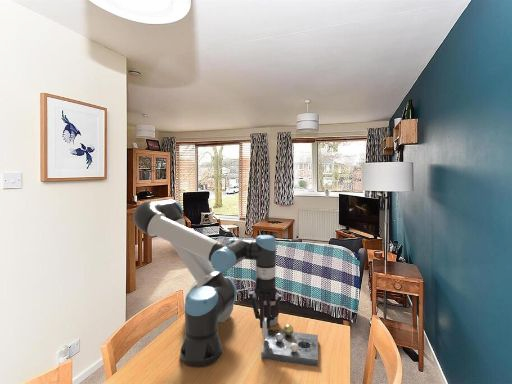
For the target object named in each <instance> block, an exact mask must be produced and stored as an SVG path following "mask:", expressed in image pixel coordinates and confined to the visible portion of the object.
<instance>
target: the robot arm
mask: <svg viewBox="0 0 512 384" xmlns="http://www.w3.org/2000/svg"><path fill="white" fill-rule="evenodd" d="M183 213H184V210H183V207H182V205H181V204H180V203H179V202H178V201H176V200H175V199H170V198H162V199H160V200H152V201H151V200H150V201H144V202H141V203H140V204H139V205H137V206H136V208H135V209H134V212H133V216H132V217H133V218H132V219H133V223H134V225H135V226H136V228H137V229H138V230H139V231H140V232H142V233H144V234H146V235H148V236H150V237H155V236H156V237H158V238H161V239H163V240H165V241H167V242H169V243H170V244H171V246H172V247H173V249H174V250H175V252H176V253H177V255H178V256H179V258H180V259H181V261H182V262H183V264H184V265H185V267H186V268H187V270H188V271H189V273H190V275H192V277H193V279H194V281H196V282H197V284H198V285H197V288H194V289H192V290H191V291H190V290H189V291H190V292H188V293H187V294H186V296H185V302H184V325H185V326H184V331H185V332H184V333H185V334H184V337H183V341H182V344H181V347H180V349H179V350H180V352H179V353H180V354H179V355H180V360H181V361H182V363H183V364H184V365H186V366H189V367H195V368H200V367H207V366H211V365H212V364H215V363H216V362H218V361H219V359H221V357H222V355H223V345H222V341H221V338H220V336H219V332H218V322H217V319H218V317H219V316H220V315H221V314H222V313H223V312H224V311H225V310H226V309H227V308H229V307H230V306H231V305H232V303H233V302H234V303H235V300H236V298H237V294H238V290H237V289H238V288H237V286H236V283H235V282H234V281H233V279H231V277H227V276H224V275H223V274H222V273H223V272H226V271H229V270H231V269H232V268H233V267H235V266H236V265H237V264H239V263H241V261H243V260H249V261H255V288H254V290H253V291H250V292H249V293H248V297H249V299H250V301H251V304H252V310H253V314H254V316H255V319H258V320H259V328H260V329H262V338H263V339H265V338H267V335H268V329H271V326H270V321H271V320H274V319H275V315H276V311H277V308H278V304H279V302H280V303H281V300H282V297H283V295H282V293H281V294H278V293H277V290H278V289H277V288H276V272H277V271H276V267H277V266H276V259H277V256H276V255H277V247H276V245H277V243H276V242H277V241H276V238H275V236H273V235H271V234H270V235H269V234H261V235H260V234H259V235H258V236H256V237H255V239H244V238H239V237H238V238H237V237H236V238H233V237H232V238H229V239H227V241H226V243H224V242H223V243H222V242H220V241H218V240H216V239H214V238H211V237H209V236H208V235H205V234H203V233H200V232H199V231H196V230H194V229H192V228H190V227H187V226H185V218H184V214H183ZM276 289H277V290H276ZM256 296H257V298H258V299H259V306H258V301H257V298H256ZM274 296H276V298H275V299H276V302H275V306H274V310H273V314H272V315H271V300H272V299H273V297H274ZM264 301H266V304H267V318H264Z"/></svg>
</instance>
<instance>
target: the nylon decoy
mask: <svg viewBox="0 0 512 384" xmlns="http://www.w3.org/2000/svg"><path fill="white" fill-rule="evenodd" d="M290 350H291V351H292V352H297V350H298V345H297V344H296V343H292V344H291V345H290Z"/></svg>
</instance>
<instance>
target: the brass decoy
mask: <svg viewBox="0 0 512 384" xmlns="http://www.w3.org/2000/svg"><path fill="white" fill-rule="evenodd" d="M282 331H284V333H285V334H286V335H288V336H290V335H292V334H293V332H294V327H293V326H292V325H291V324H285V325H284V326H283V329H282Z"/></svg>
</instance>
